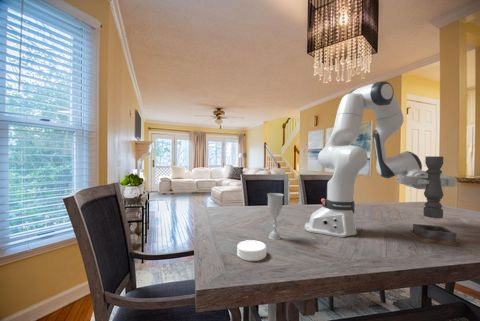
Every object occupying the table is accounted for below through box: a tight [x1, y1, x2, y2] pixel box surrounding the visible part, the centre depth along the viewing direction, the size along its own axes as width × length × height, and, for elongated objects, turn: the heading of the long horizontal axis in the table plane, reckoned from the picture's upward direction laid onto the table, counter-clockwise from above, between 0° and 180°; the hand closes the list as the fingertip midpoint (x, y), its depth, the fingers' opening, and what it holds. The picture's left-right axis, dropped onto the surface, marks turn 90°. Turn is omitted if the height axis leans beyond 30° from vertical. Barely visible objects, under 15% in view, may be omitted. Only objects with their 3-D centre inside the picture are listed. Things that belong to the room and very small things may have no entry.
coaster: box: [236, 239, 267, 262], centre depth 76 cm, size 10×10×4 cm
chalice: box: [266, 192, 284, 241], centre depth 93 cm, size 7×7×18 cm
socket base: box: [409, 223, 461, 247], centre depth 93 cm, size 12×12×4 cm
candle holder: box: [423, 155, 444, 219], centre depth 93 cm, size 6×6×25 cm
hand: (434, 182), depth 92 cm, fingers closed on candle holder, 4 cm apart
